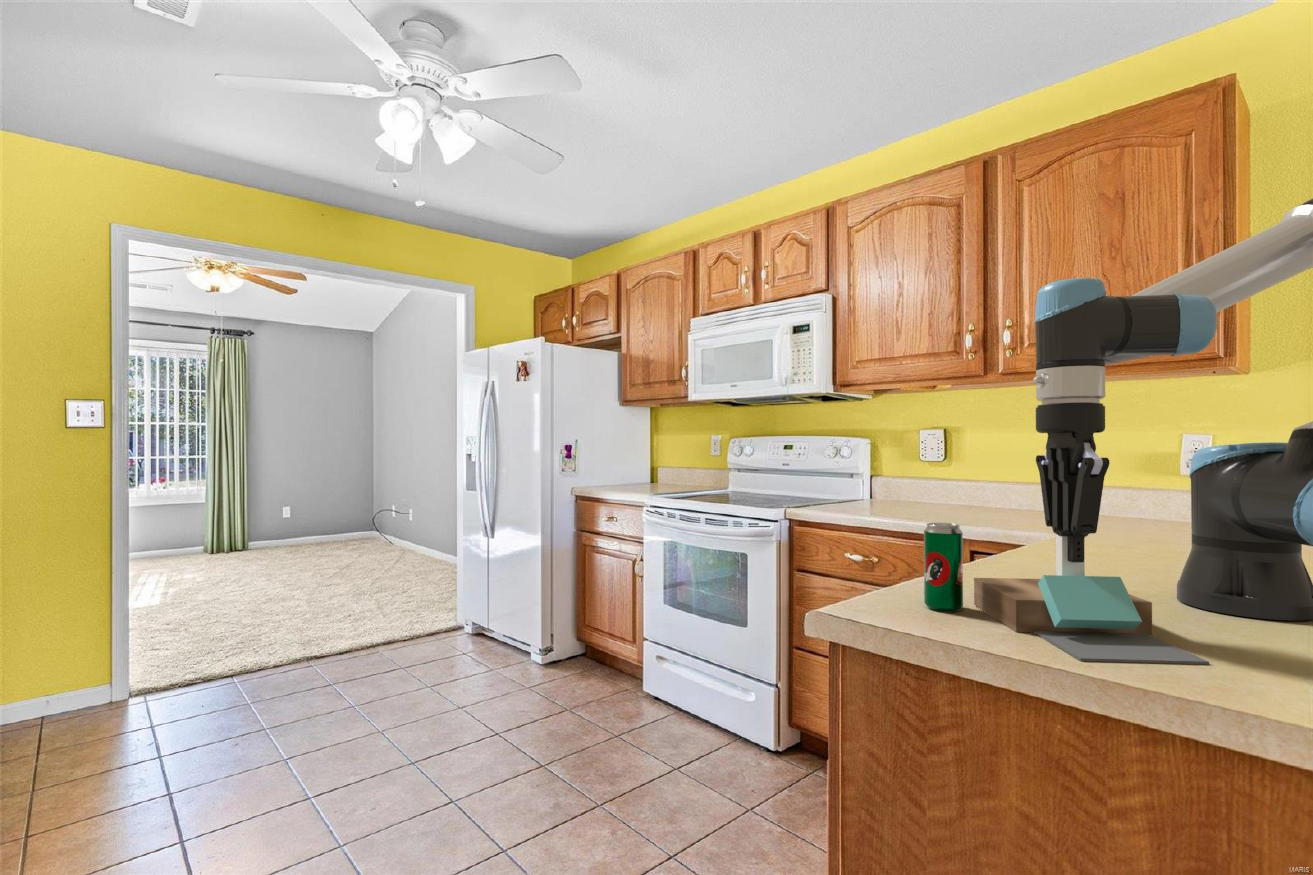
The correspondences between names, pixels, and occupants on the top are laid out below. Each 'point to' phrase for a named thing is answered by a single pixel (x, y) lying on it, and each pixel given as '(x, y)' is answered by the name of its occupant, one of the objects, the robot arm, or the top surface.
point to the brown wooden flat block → (1037, 606)
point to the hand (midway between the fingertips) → (1070, 585)
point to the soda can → (943, 567)
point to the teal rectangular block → (1088, 602)
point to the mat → (1118, 647)
